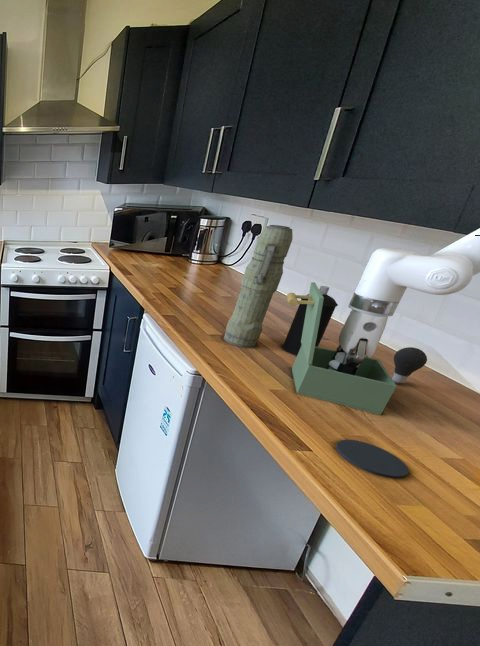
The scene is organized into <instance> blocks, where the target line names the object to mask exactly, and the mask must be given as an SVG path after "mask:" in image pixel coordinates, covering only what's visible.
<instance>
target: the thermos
mask: <svg viewBox="0 0 480 646" xmlns="http://www.w3.org/2000/svg"><path fill="white" fill-rule="evenodd" d="M293 237H294V235H293V229H292V228H290V226H287V225H279V224H269V225H266V226H265V227H264V228H263V230H262V231H261V233H260V234H259V236H258V239H257V242H256V245H255V248H254V251H253V256H252V257H251V260H250V261H249V262H248V264H247V265H246V267H245V270H244V272H243V273H244V274H243V276H242V279H241V282H240V286H241V288H240V291H239V294H238V297H237V300H236V303H235V306H234V310H233V312H232V315H231V317H230V318H229V319H228V321H227V323H226V327H225V330H224V332H225V334H224V335H223V340H224V341H225V342H226V343H228V344H230V345H233V346H236V347H240V348H248V349H249V348H250V349H251V348H255V347H256V346H257V342H258V340H259V339H260V337H261V334H262V331H263V322H264V321H265V320H264V319H265V317H266V314H267V312H268V309H269V306H270V303H271V301H272V298H273V295H274V294H275V293H276V292H277V291H278V288H279V285H280V282H281V280H282V276H283V274H284V264H285V259H286V257H287V255H288V253H289V250H290V247H291V244H292V242H293Z"/></svg>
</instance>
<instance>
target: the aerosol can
mask: <svg viewBox="0 0 480 646" xmlns="http://www.w3.org/2000/svg"><path fill="white" fill-rule="evenodd" d="M318 289H319V290H320V292H321V294H322V296H323V297H324V300H323V306H322V311H321V317H320V322H319V328H318V333H317V339H316V344H315V346H316V347H319V346H320V343H321V341H322V339H323V337H324V334H325V332H326V330H327V328H328V325H329V323H330V322H331V319H332V317H333V314H334V312H335V309H336V308H337V307H338V306H339V304H338V303H337V301H336V300H335V298H333V296H331V295H329V294H328V292H329V290H330V287H329V286H326V285H320V286H319V288H318ZM307 295H309V293H308V294H307ZM300 300H304V301H308V299H300ZM306 309H307V304H298V307H297V309H296V311H295V315H294V317H293V319H292V322H291V324H290V326H289V330H288V331H287V335H286V337H285V339H284V341H283V344H282V345H281V350H283V351H285V352H287V353H289V354H292V355H294V356H297V355H298V353H299V350H300V348H301V345H302V344H301V339H302V333H303V327H304V321H305V315H306Z"/></svg>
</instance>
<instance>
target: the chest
mask: <svg viewBox="0 0 480 646" xmlns="http://www.w3.org/2000/svg"><path fill="white" fill-rule="evenodd" d="M335 352H336V349H329V348H324V347H319V346H318V347H316V346H315V350H314V356H313V361H312V364H307V360H306V357H305V354H304V350H303V347H302V345H301V348H300V350H299V353H298V355H296V357H295V360H294V362H293V364H292V367H291V371H292V376H293V377H292V378H293V382H294V386H295V391H296V394H298V395H303V396H306V397H310V398H314V399H318V400H322V401H326V402H329V403H334V404H338V405H341V406H343V407H344V406H345V407H349V408H352V409H356V410H359V411H360V410H361V411H365V412H368V413H371V414H375V415H380V416H381V415H382V413H383V411H384V410H385V408H386V406H387V404H388V402H389V401H390V399H391V397H392V396H393V394H394V392H395V390H396V388H397V383H394V381H393V380H392V376H391V375H390V374H389V372H388V371H387V370H386V368H385V366H384V365H383V363H382V362H381V360H380V359H377V358H373V357H370V358H368V357H366V356H364V359H363V360H362V361H361V363H360V365H359V368H358V369H357V372H356V374H355V375H350V374H346V373H342V372H337V371H333V370H328V369H326V368H327V366H328V364H329V362H330V361H331V360H332V358H333V356H334V354H335ZM336 353H338V352H336Z"/></svg>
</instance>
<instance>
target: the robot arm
mask: <svg viewBox="0 0 480 646" xmlns="http://www.w3.org/2000/svg"><path fill="white" fill-rule="evenodd" d="M475 235H480V228H478V229H476V230H474V231H472V232H469V234H467V235H465V236H463V237H461V238H459V239H457V240H456V241H454V242H452V243H451V244H449V245H447V246H445V247H444V248H442V249H440V250H438V251H436V252H434V253H433V254H431V255H429V256H428V255H421V254H419V253H418V252H416V251H413V250H410V249H405V248H404V249H403V248H397V247H379V248H377V249H376V250H374V251H373V252H372V254H371V255H370V258H369V260H368V262H367V264H366V266H365V268H364V271H363V273H362V275H361V277H360V280H359V282H358V284H357V286H356V288H355V290H354V293H353V295H352V297H351V299H350V301H349V303H348V307H347V308H349V309H351V311H350V312H349V314H348V316H347V318H346V320H345V322H344V324H343V325H342V328H341V330H340V333H339V336H338V342H339V344H338V346H337V348H336V349H335V351H336V352H344V353H345V356H344V359H343V362H342V363H340V364H339V366H338V368H337V370H336V371H337V372H342V373H346V374H350V375H355V373H356V371H357V369H358V368H359V365H360V363H361V361H362V360H363V359H364V357H368V358H373V357H374V354H375V352H376V350H377V347H378V345H379V343H380V341H381V339H382V336H383V334H384V331H385V329H386V326H387V323H388V320H389V317H393V315H395V312H396V310H397V309H398V306H399V304H400V302H401V300H402V298H403V296H404V294H405V293H406V291H407V288H408V289H411V290H415V291H419V292H422V293H426V294H429V295H435V296H446V295H452V294H455V293H458V292H460V291H462V290H463V289H466V288H467V286H469V284H470V283H471V281H472V279H473V277H474V276H475V275H477V274H479V273H480V236H475ZM354 351H355V352H354ZM336 352H335V354H334V356H333V358H332V360H336V359H335V356H336V354H337V353H336ZM349 355H352V356H353V357H351V358H349ZM348 358H349V359H348ZM332 360H331V361H332Z"/></svg>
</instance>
